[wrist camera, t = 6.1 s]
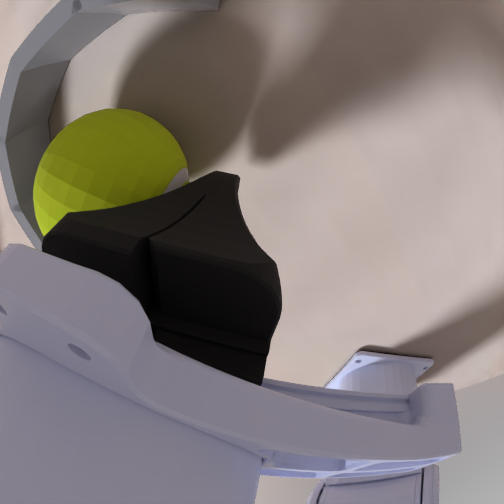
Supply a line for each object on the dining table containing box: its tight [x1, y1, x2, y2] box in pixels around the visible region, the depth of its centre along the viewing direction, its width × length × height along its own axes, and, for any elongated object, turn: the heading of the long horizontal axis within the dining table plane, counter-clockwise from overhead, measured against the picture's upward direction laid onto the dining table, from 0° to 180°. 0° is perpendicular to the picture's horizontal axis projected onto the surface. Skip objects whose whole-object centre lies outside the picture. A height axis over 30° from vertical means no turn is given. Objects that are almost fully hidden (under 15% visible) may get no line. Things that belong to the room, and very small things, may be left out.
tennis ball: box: [33, 109, 189, 236], centre depth 10 cm, size 7×7×7 cm
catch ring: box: [0, 0, 221, 252], centre depth 12 cm, size 17×11×4 cm, turn 171°
